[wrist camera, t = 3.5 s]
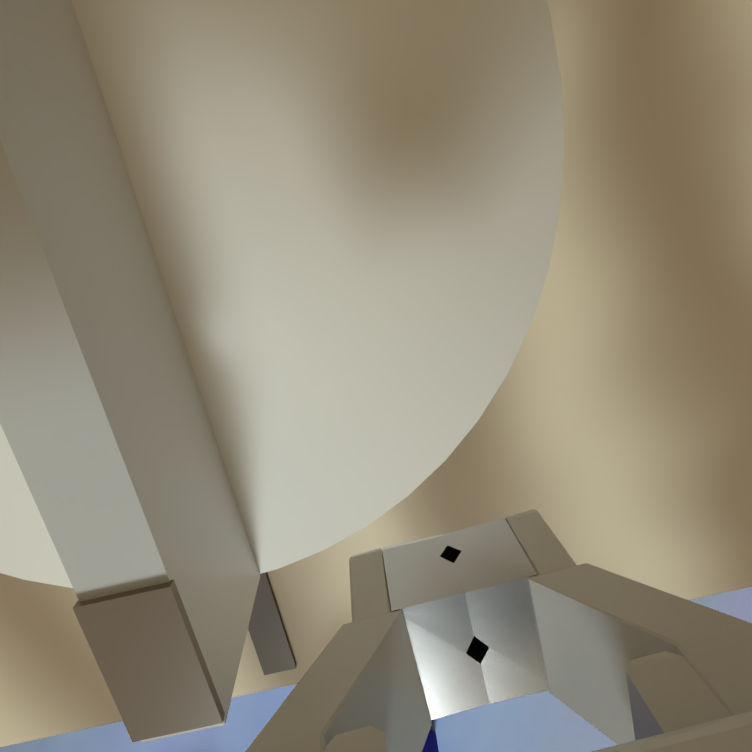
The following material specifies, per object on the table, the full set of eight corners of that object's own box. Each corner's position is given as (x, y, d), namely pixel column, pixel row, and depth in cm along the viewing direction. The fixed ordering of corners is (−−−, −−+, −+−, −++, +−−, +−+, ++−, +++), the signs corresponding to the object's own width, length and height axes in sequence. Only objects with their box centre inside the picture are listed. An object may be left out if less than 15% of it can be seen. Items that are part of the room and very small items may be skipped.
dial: (464, -511, 10) (606, -1387, 5) (587, 474, 16) (720, 626, 10) (-583, -239, 11) (-1633, -733, 5) (-99, 625, 17) (-336, 850, 11)
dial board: (673, -860, 10) (730, -1048, 9) (735, 554, 19) (770, 586, 18) (-884, -441, 11) (-1088, -547, 10) (-139, 742, 20) (-181, 789, 18)
